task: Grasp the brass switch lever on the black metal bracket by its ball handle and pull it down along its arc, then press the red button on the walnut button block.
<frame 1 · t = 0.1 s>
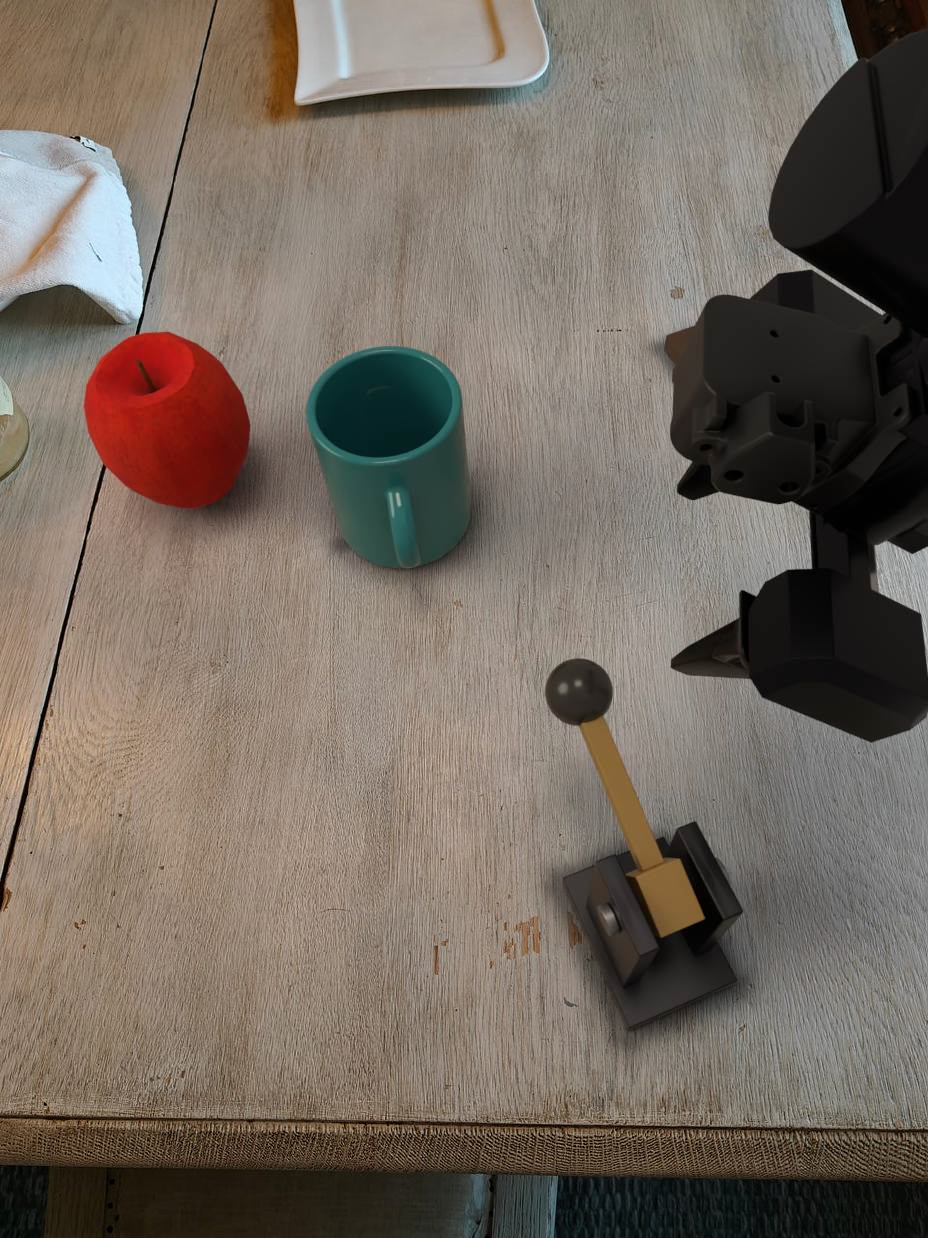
hand: (681, 576, 43), 16 cm above the table, tool tilted 35°, fingers open, 9 cm apart
button block: (751, 364, 69), on the table
switch lever: (619, 790, 44), point 10 cm above the table, hinge at 18.0°
switch bracket: (645, 932, 50), on the table
apple: (201, 484, 67), on the table
cup: (408, 535, 64), on the table
button: (744, 370, 64), point 4 cm above the table, slide at 0.1 cm
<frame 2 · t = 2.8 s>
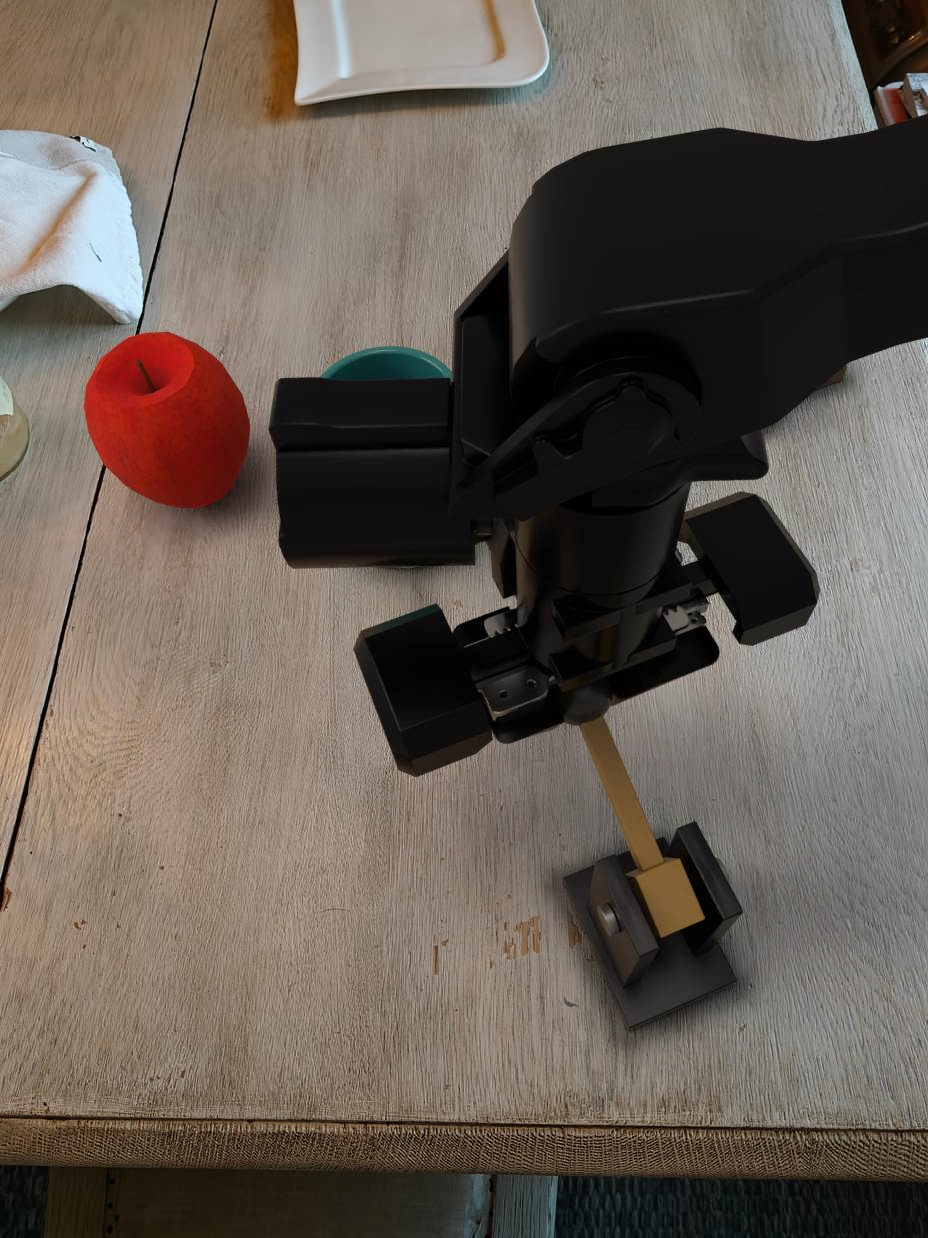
hand: (577, 709, 47), 9 cm above the table, tool pointing down, fingers closed on switch lever, 3 cm apart
switch lever: (619, 790, 44), point 10 cm above the table, hinge at 18.0°, touching gripper
everything else where it was.
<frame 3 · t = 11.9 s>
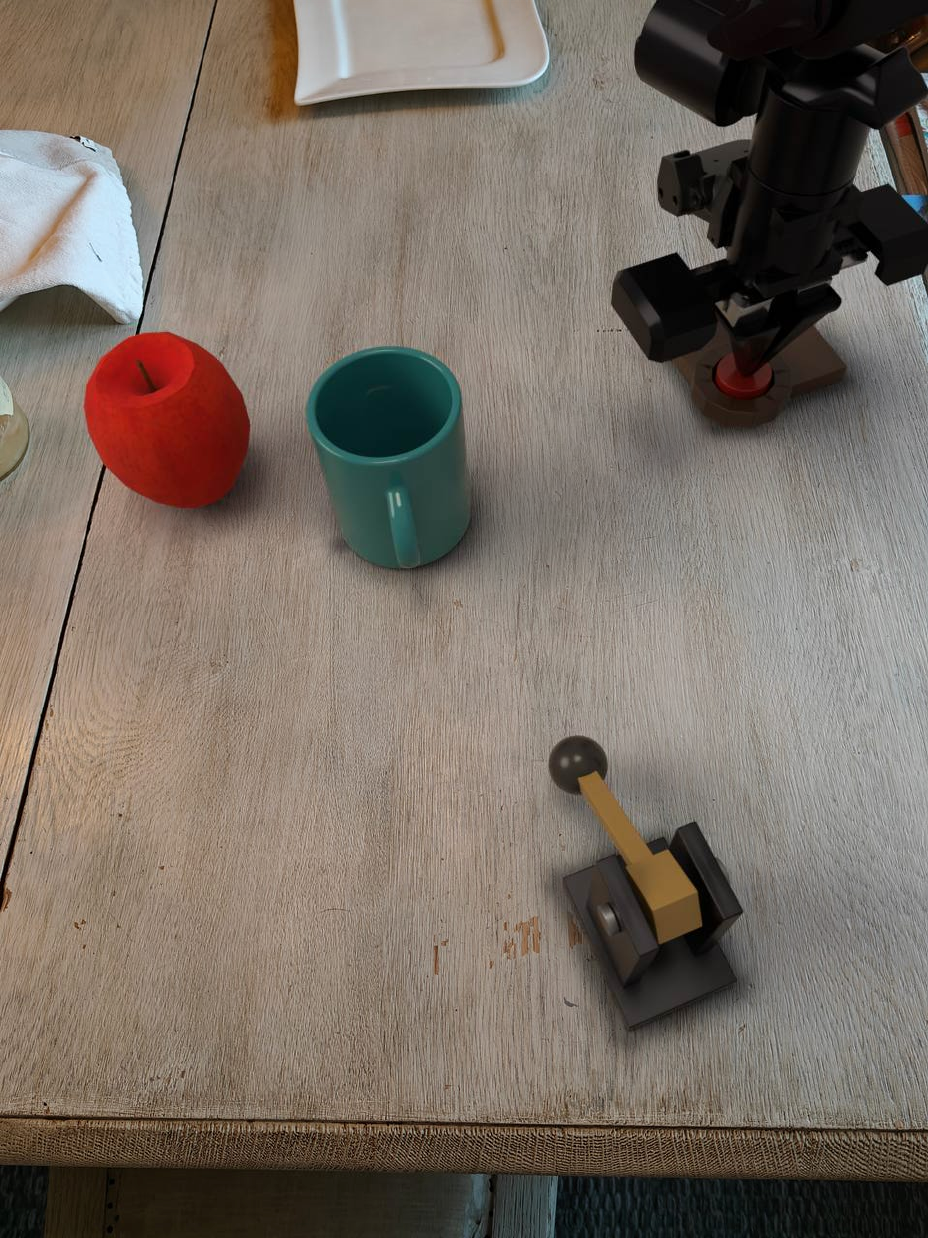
hand: (744, 371, 64), 3 cm above the table, tool pointing down, fingers closed, pressing on button
switch lever: (616, 823, 48), point 6 cm above the table, hinge at -28.5°
button: (742, 379, 65), point 3 cm above the table, slide at -0.8 cm, touching gripper
everything else where it was.
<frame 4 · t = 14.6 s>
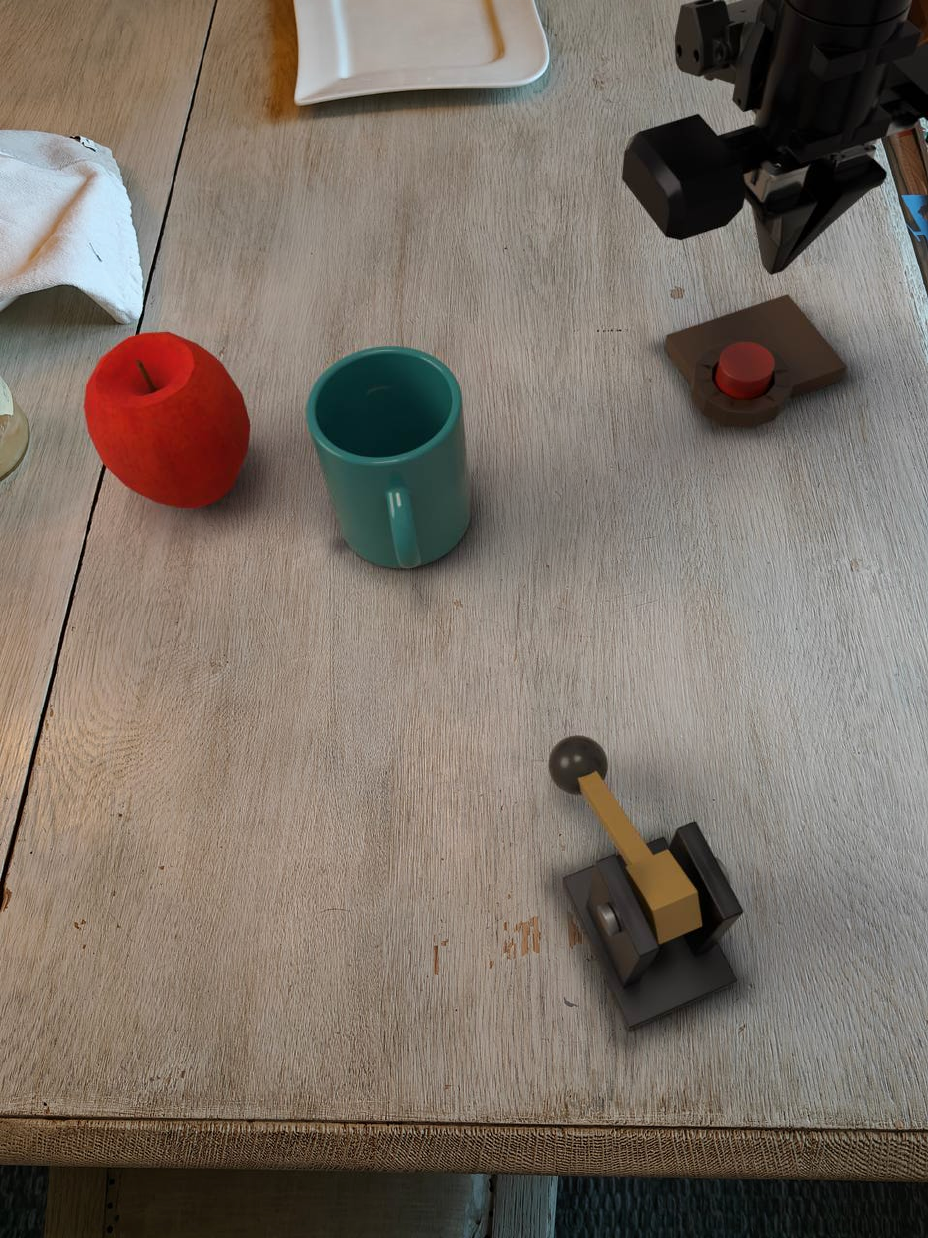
hand: (771, 268, 57), 12 cm above the table, tool pointing down, fingers closed
button: (744, 370, 64), point 4 cm above the table, slide at 0.1 cm
everything else where it was.
at the end: switch lever at -28° (first picture: +18°); button pushed in 0.9 cm at the most during the clip, back to where it started at the end; button slide at 0.1 cm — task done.
